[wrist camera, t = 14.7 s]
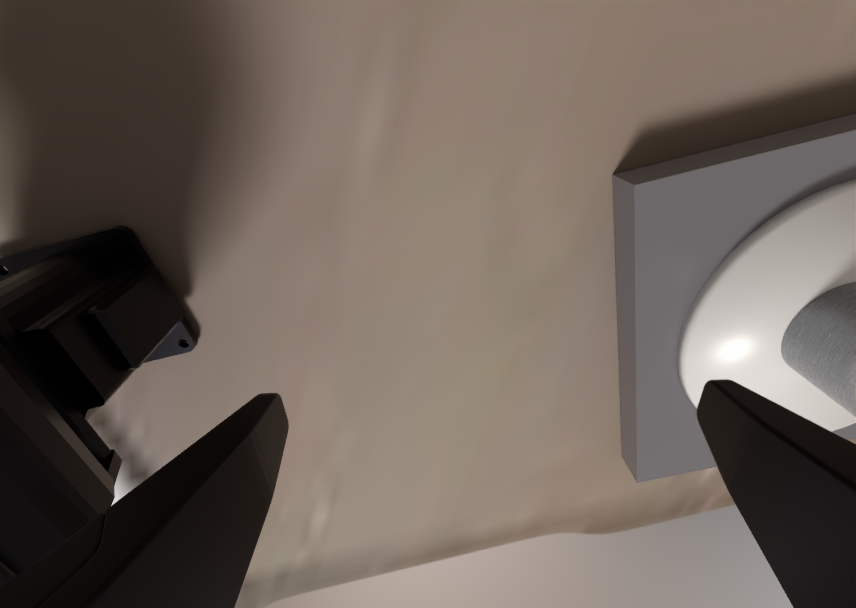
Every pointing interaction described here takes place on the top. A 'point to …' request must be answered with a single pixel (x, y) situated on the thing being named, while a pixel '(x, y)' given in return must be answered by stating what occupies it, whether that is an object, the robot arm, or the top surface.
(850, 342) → the ball
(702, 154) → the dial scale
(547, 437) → the top surface
